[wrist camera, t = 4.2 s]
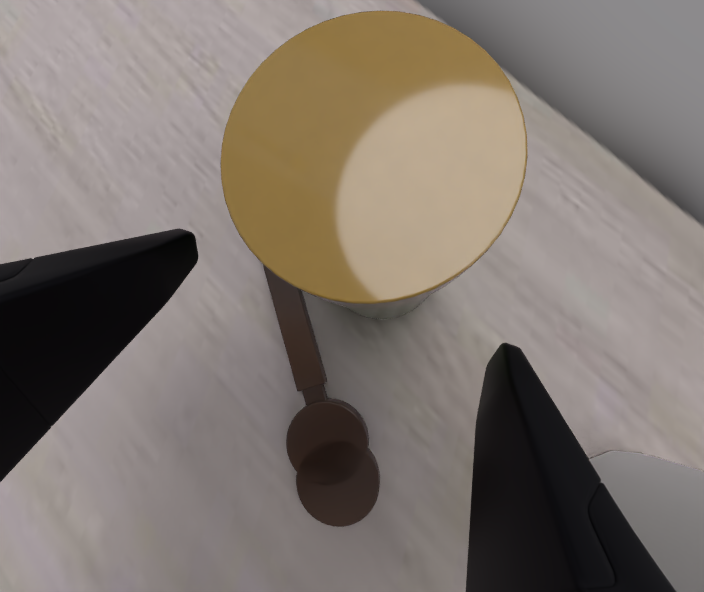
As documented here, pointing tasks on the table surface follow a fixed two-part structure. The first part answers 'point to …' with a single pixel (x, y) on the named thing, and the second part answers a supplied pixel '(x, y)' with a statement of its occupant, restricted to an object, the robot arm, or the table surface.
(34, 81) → the table surface
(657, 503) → the foam cup
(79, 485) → the table surface
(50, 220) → the table surface
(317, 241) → the pickle jar
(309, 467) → the spoon
